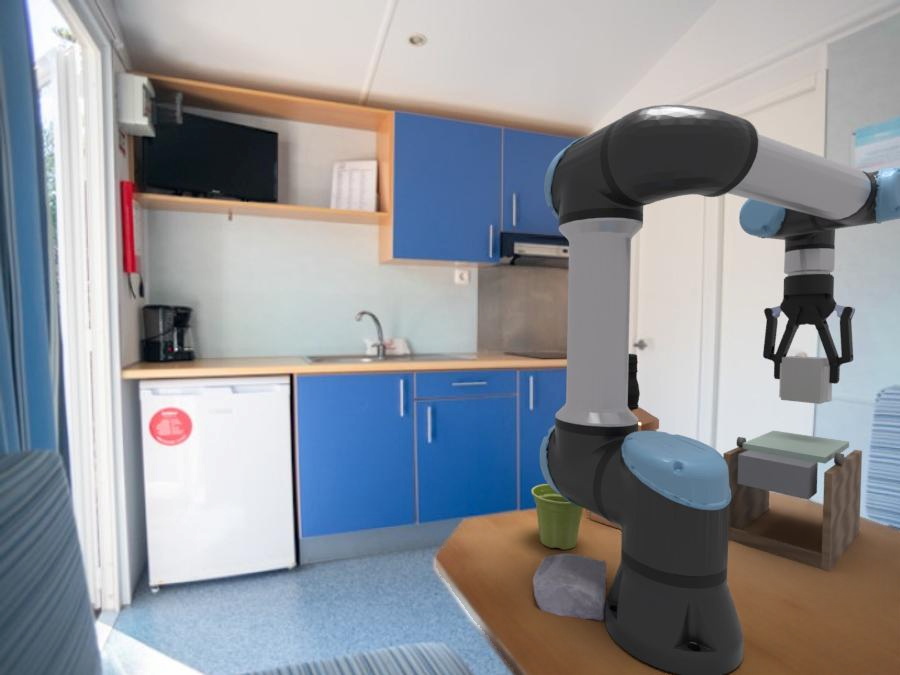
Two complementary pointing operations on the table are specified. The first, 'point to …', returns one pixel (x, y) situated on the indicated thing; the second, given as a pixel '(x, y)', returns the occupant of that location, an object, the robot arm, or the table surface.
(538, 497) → the plant pot
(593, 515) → the whiskey bottle
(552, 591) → the stone block
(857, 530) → the trapdoor stand
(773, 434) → the trapdoor
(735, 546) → the table surface
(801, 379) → the grey stone block
